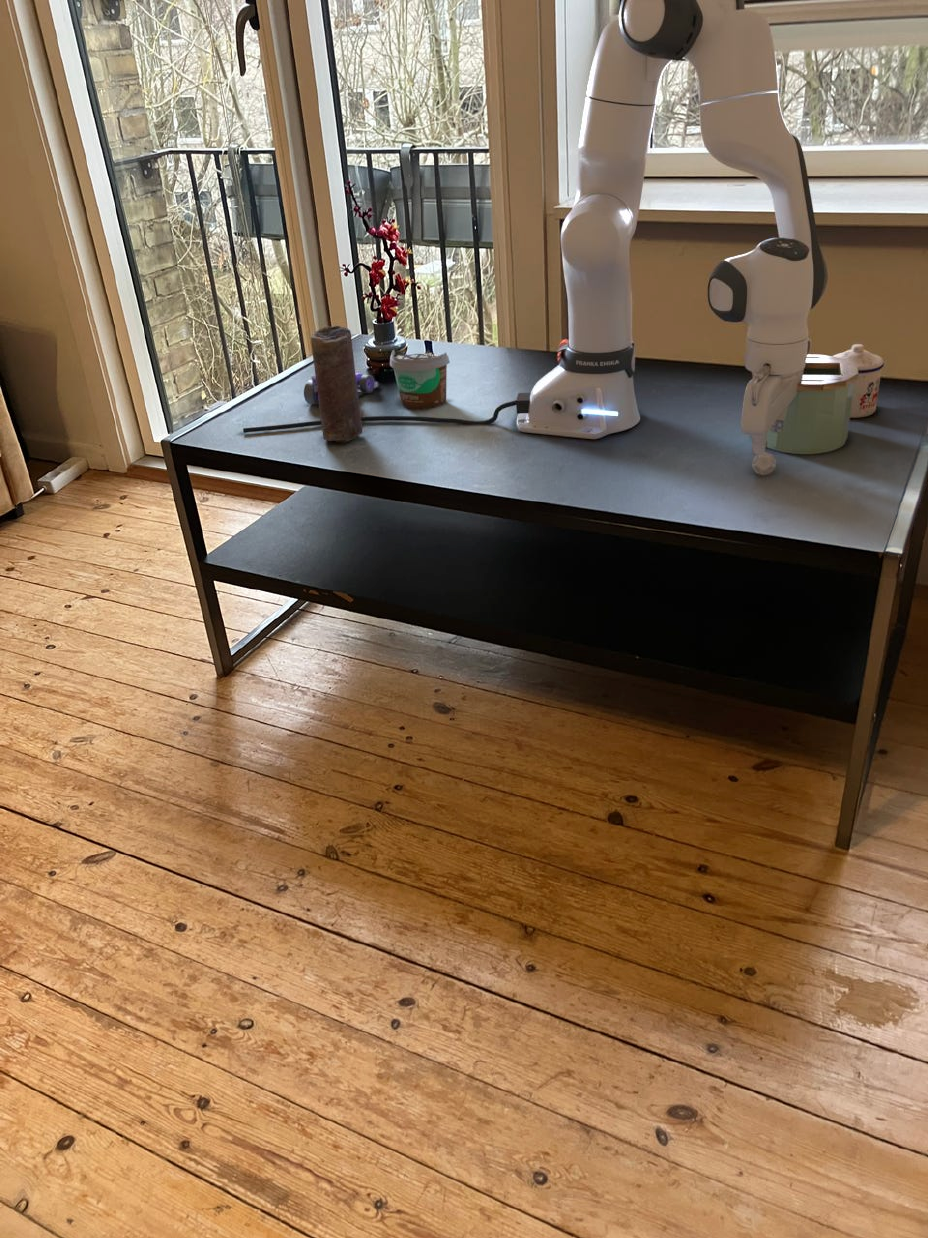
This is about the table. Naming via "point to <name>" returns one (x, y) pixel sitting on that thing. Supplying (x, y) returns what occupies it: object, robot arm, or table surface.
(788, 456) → the table surface
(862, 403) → the teacup with lid
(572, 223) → the robot arm
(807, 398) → the green round box
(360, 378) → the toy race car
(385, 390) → the table surface
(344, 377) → the candle
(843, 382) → the round tan lid
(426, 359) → the food container
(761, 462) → the game die
